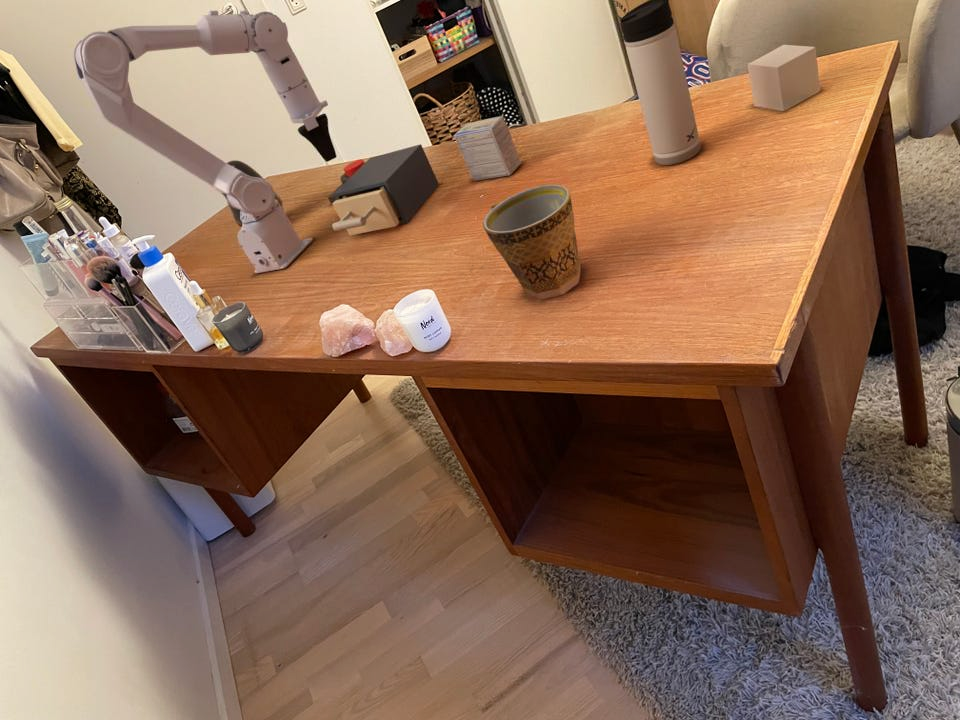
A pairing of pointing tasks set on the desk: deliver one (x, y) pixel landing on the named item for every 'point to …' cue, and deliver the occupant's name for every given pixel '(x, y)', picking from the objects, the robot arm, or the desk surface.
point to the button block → (343, 180)
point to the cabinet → (396, 179)
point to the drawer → (366, 211)
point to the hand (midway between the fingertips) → (331, 158)
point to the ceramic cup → (537, 239)
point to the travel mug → (661, 81)
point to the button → (353, 167)
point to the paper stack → (488, 148)
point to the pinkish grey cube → (784, 77)
